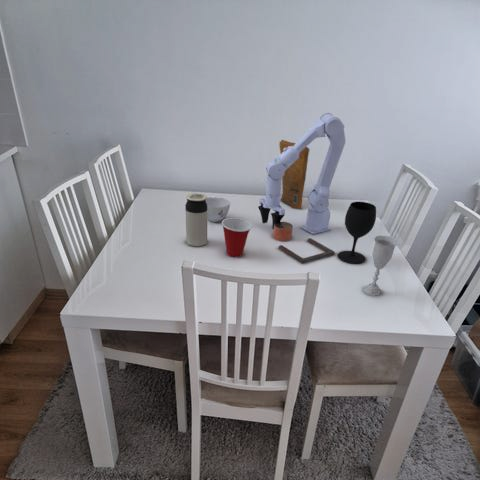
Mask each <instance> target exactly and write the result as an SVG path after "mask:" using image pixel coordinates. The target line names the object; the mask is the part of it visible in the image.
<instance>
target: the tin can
mask: <svg viewBox="0 0 480 480" xmlns="http://www.w3.org/2000/svg"><path fill="white" fill-rule="evenodd" d="M293 230H294V225H293V224H292V223H291V222H288V221H280V222H277V223H275V224H274V230H273V233H272V238H273V239H274V240H276V241H279V242H288V241H291V240H292V237H293Z"/></svg>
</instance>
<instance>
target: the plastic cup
mask: <svg viewBox="0 0 480 480" xmlns="http://www.w3.org/2000/svg"><path fill="white" fill-rule="evenodd" d="M221 225H222V229H223V235H224V236H223V237H224V243H225V249H226V250H225V251H226V255H227V256H228V257H232V258H239V257H241V256H242V255H243V254H244V250H245V247H246V243H247V239H248V235H249V233H250V230H251V229H252V227H253V225H252V223H251V222H250V221H248V220H246V219H243V218H239V217H227V218H223V219H222V220H221Z"/></svg>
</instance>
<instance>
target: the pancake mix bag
mask: <svg viewBox="0 0 480 480" xmlns="http://www.w3.org/2000/svg"><path fill="white" fill-rule="evenodd" d="M296 143H297V142H292V141H287V140H285V139H281V140H280V141H279V143H278V146H279V153H280V154H281V153H282V152H283V151H284V150H283V149H284V148H285V147H286V148H287V147H288V146H294V145H295V144H296ZM310 151H311V148H309V147H308V146H307V147H305V148H304V149H303V150H302V151H301V152H300V153H299V158H298V159H297V160H296V161H295V162H294V163H293V164H292V165H291V166H290V167H289V168H288V169H287V170H285V173H284V176H283V177H282V180H281V189H282V194H281V196H280V202H282V203H284V204H285V205H288V206H289V207H291V208H293V209H297V210H302V205H303V195H304V189H305V185H306V184H305V183H306V179H307V171H308V170H307V169H308V163H309V155H310ZM280 154H279V155H280Z"/></svg>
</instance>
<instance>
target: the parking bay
mask: <svg viewBox="0 0 480 480" xmlns="http://www.w3.org/2000/svg"><path fill="white" fill-rule="evenodd" d="M306 241H307V242H308V243H309V244H311V245H313V246H314V247H316V248H318V249H320V250H321V251H323V252H321V253H318V254H314V255H310V256H306V257H301V256H300V255H299V254H296V253H295V252H294V251H292V250H291V249H289V248H287V247H286V246H284V245H283V244H280V245H278V250H279V251H280V252H281V251H282V253H284V254H286V255H287V256H289V257H290V258H291V259H293V260H295V261H297V262H298V263H300V264H302V265H303V264H306V263H310V262H314V261H316V260H321V259H323V258H328V257H332V256H333V255H334V256H335V253H336V252H335V251H334V250H332V249H331V248H329V247H327V246H325V245H324V244H322V243H320V242H318V241H316V240H315V239H313V238H311V237H309V238H307V239H306Z"/></svg>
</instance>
